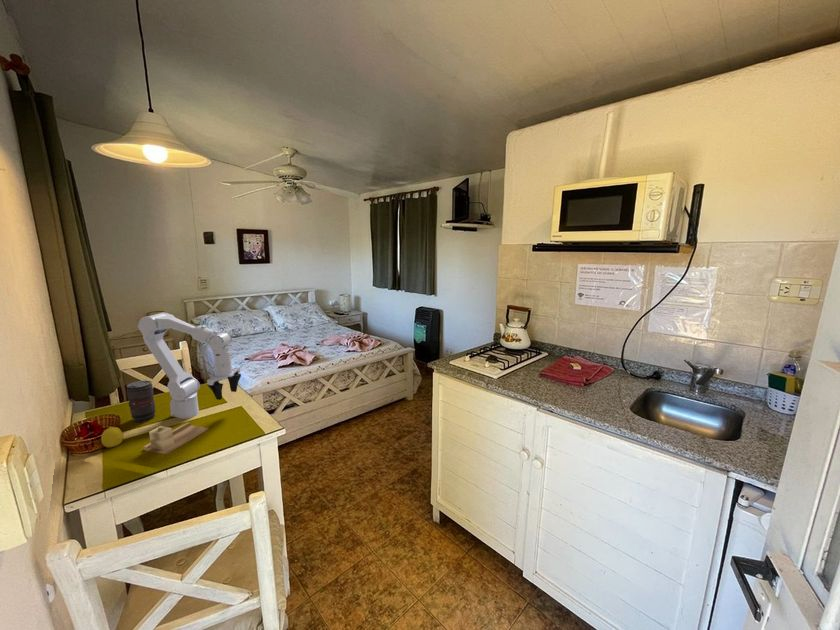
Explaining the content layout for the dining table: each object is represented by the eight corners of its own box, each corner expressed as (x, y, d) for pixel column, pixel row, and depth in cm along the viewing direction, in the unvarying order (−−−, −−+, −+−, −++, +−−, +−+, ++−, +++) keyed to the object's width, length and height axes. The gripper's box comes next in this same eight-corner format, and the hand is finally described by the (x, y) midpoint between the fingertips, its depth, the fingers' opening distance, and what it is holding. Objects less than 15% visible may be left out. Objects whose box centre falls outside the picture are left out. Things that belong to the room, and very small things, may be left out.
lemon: (107, 454, 116) (102, 432, 115) (101, 449, 119) (96, 428, 118) (127, 446, 121) (123, 425, 119) (121, 442, 124) (117, 421, 122)
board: (144, 453, 117) (142, 446, 116) (188, 428, 133) (187, 422, 132) (167, 458, 114) (166, 450, 114) (210, 432, 130) (209, 425, 130)
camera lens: (146, 423, 137) (140, 388, 134) (126, 423, 137) (120, 387, 134) (162, 413, 145) (156, 380, 142) (143, 413, 145) (137, 379, 142)
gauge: (151, 448, 118) (148, 429, 116) (162, 441, 121) (160, 423, 120) (163, 450, 116) (160, 431, 115) (174, 443, 120) (171, 425, 119)
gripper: (216, 370, 129) (220, 404, 131) (244, 358, 143) (248, 389, 145) (201, 368, 131) (205, 402, 133) (230, 356, 144) (234, 387, 147)
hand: (226, 395), depth 139 cm, fingers open, 7 cm apart
